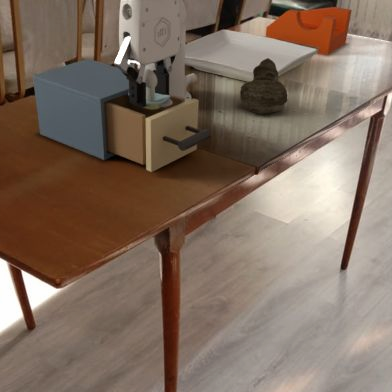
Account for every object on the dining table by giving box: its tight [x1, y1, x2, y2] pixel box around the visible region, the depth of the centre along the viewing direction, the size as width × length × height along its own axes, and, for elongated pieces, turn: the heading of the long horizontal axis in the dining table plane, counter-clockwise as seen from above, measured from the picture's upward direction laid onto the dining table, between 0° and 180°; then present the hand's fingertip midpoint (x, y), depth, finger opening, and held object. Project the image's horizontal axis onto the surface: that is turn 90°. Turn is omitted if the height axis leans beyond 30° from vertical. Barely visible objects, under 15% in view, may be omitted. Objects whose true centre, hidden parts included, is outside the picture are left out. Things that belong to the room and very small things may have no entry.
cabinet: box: [32, 58, 129, 161], centre depth 114 cm, size 17×14×11 cm
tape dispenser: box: [265, 6, 352, 56], centre depth 166 cm, size 18×13×8 cm
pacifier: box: [143, 69, 172, 109], centre depth 104 cm, size 7×6×6 cm
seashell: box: [239, 58, 288, 115], centre depth 128 cm, size 11×12×10 cm
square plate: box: [185, 29, 318, 82], centre depth 151 cm, size 27×27×4 cm
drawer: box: [104, 93, 212, 173], centre depth 108 cm, size 20×12×9 cm, turn 52°
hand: (149, 99), depth 105 cm, fingers closed on pacifier, 5 cm apart
